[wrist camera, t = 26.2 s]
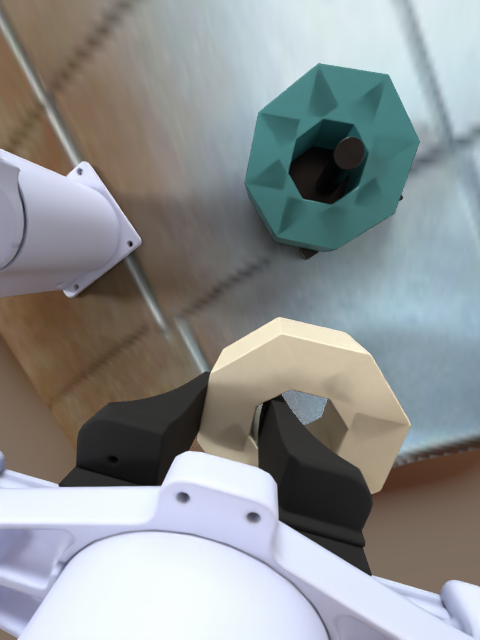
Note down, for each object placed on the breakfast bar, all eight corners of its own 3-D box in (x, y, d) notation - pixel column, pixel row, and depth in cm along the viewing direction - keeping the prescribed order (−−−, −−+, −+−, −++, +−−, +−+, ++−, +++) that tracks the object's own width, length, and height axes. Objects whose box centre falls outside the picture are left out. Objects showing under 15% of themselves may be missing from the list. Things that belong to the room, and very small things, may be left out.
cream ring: (265, 479, 17) (264, 533, 13) (187, 369, 15) (165, 399, 12) (399, 423, 14) (438, 470, 11) (322, 290, 13) (340, 299, 10)
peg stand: (304, 260, 20) (319, 258, 14) (254, 174, 19) (248, 134, 13) (396, 201, 18) (456, 172, 12) (346, 103, 17) (386, 22, 11)
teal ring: (292, 271, 19) (297, 273, 16) (229, 164, 18) (220, 142, 15) (408, 199, 17) (441, 184, 14) (345, 72, 16) (365, 23, 13)
